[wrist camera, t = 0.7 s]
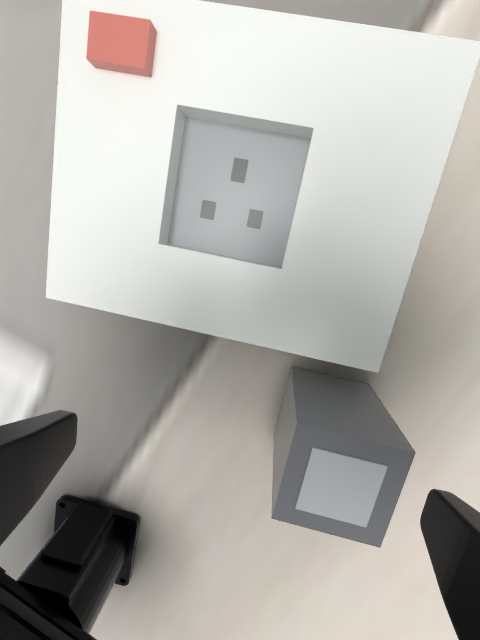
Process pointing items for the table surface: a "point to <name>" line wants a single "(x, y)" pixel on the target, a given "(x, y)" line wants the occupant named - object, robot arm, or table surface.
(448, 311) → the table surface
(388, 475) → the plug
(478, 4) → the table surface
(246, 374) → the table surface
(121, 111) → the socket plate
